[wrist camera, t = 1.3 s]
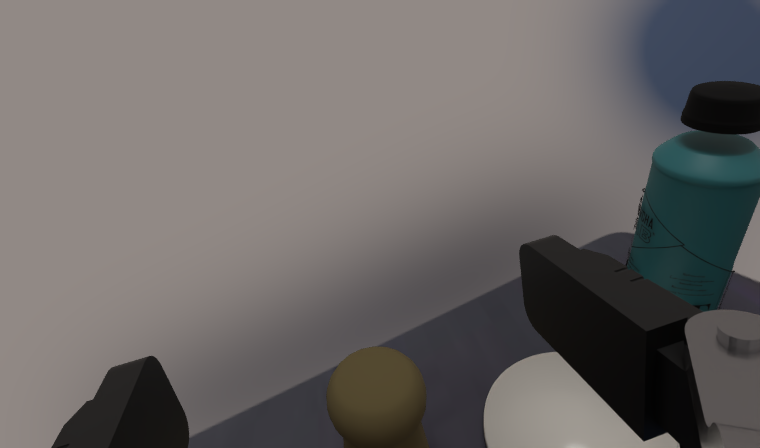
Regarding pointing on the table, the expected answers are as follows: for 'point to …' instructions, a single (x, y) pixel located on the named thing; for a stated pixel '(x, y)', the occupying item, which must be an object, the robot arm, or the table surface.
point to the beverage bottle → (701, 195)
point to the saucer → (554, 411)
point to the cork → (378, 400)
